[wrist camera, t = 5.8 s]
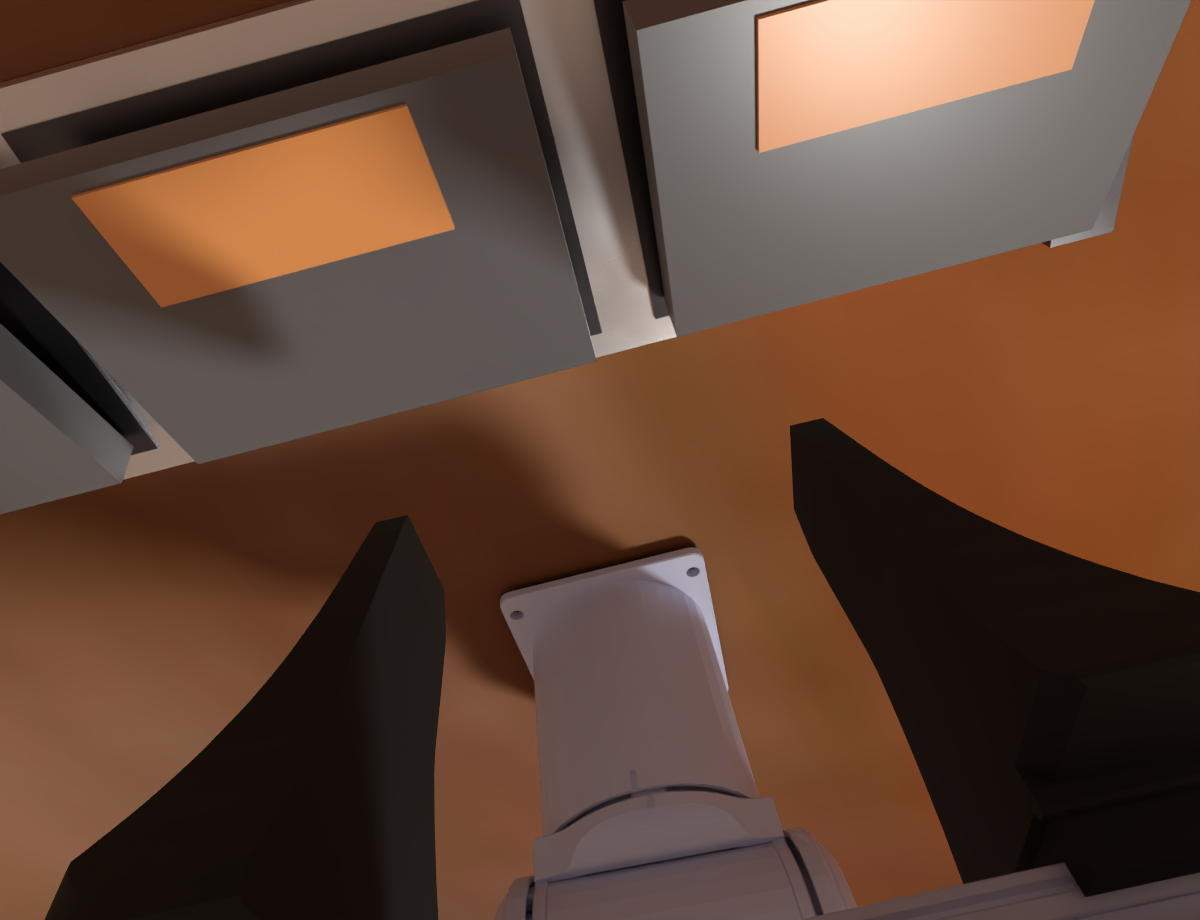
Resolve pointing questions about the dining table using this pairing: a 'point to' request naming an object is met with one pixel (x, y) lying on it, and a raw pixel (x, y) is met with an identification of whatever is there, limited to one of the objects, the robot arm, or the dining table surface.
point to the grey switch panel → (344, 44)
